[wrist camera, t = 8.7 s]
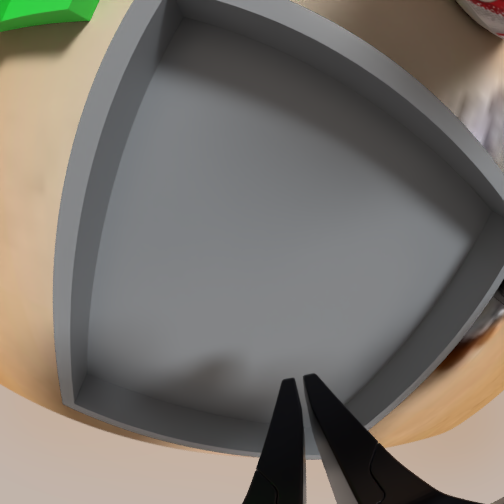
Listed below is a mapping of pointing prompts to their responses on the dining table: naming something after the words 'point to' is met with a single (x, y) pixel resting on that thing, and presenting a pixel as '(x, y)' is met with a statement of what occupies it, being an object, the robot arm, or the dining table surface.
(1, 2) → the mechanical part
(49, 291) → the dining table surface
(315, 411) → the robot arm
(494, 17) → the soda can
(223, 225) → the tray
